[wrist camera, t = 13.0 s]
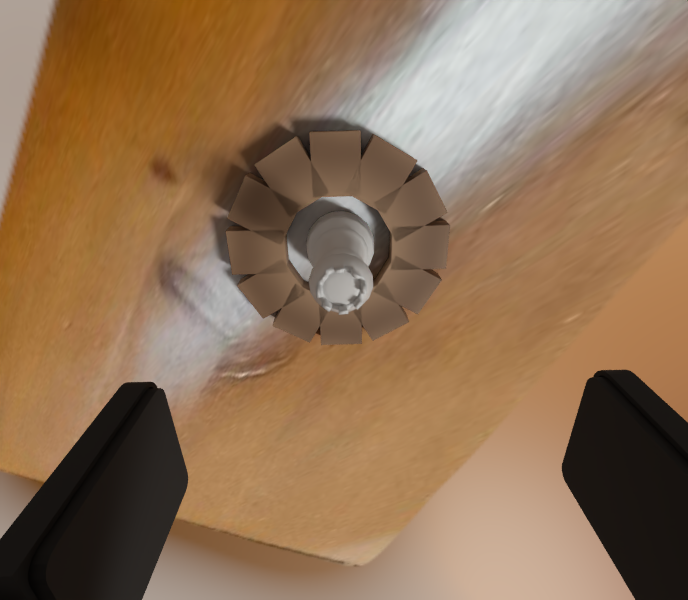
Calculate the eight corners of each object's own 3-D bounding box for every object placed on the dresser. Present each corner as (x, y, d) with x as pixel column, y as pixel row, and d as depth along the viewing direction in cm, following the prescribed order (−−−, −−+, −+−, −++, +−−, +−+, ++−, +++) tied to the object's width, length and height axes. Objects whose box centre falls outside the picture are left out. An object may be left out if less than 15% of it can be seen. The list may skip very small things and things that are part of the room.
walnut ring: (453, 127, 24) (458, 128, 22) (435, 333, 30) (439, 341, 28) (216, 133, 24) (210, 134, 22) (246, 338, 29) (243, 347, 28)
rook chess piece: (304, 270, 27) (292, 327, 20) (309, 205, 25) (297, 242, 18) (368, 276, 28) (380, 335, 20) (378, 212, 26) (394, 252, 18)
